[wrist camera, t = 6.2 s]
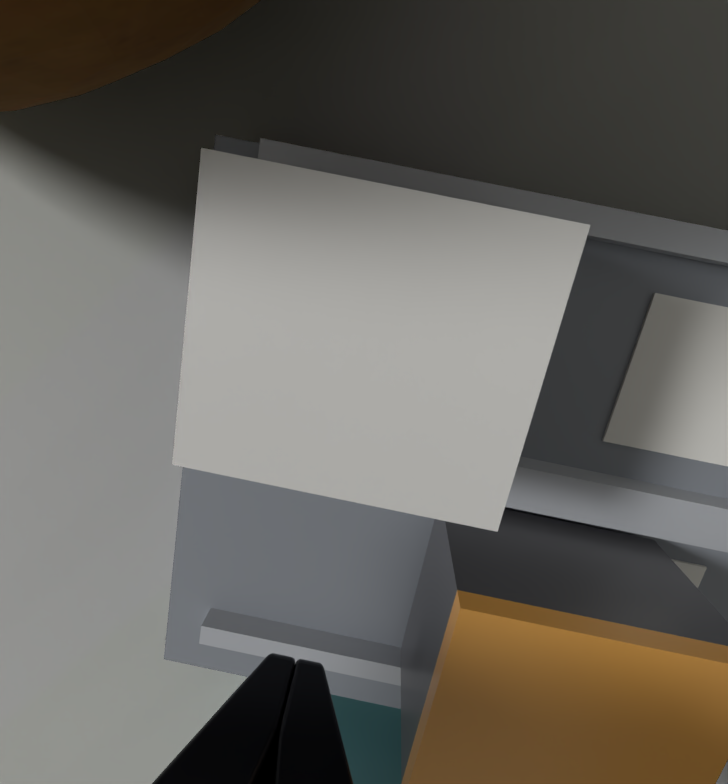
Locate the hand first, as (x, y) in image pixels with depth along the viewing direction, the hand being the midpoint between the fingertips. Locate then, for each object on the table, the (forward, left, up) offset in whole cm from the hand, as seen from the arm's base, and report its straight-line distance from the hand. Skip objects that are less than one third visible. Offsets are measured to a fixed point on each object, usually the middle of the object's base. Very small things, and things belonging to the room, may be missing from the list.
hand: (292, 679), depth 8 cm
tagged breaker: (-4, 0, -3) cm, 6 cm away
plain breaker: (0, -5, -3) cm, 6 cm away
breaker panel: (-3, -2, -5) cm, 6 cm away
